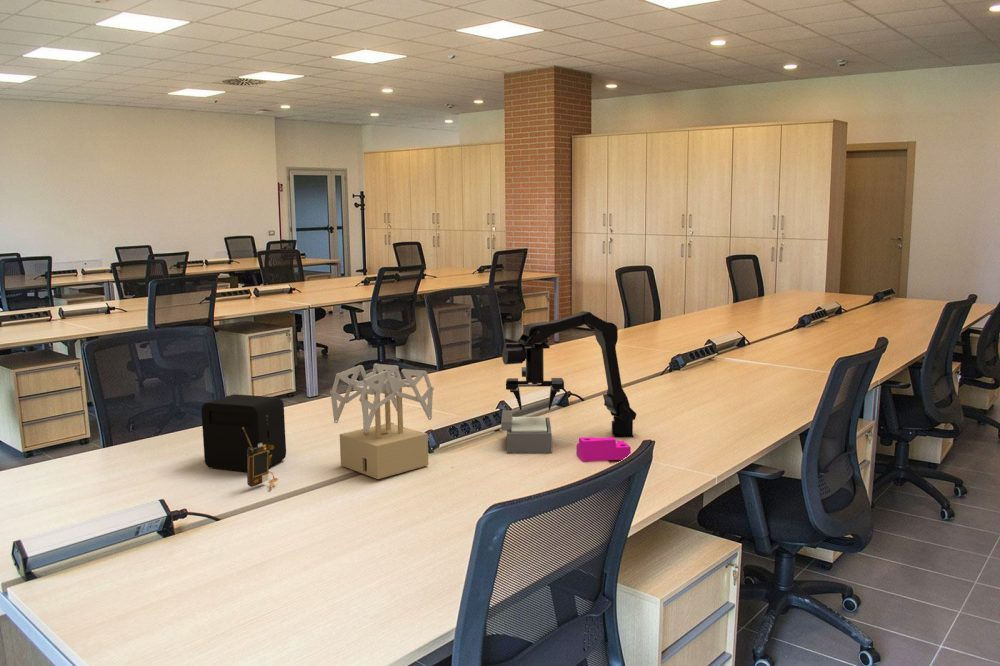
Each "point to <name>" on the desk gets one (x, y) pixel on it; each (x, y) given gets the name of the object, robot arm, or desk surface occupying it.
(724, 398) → the desk surface
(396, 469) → the kinetic sculpture
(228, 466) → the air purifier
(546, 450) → the hatch box
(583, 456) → the magenta saddle bracket
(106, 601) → the desk surface
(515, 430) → the trapdoor
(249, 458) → the walkie talkie
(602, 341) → the robot arm
